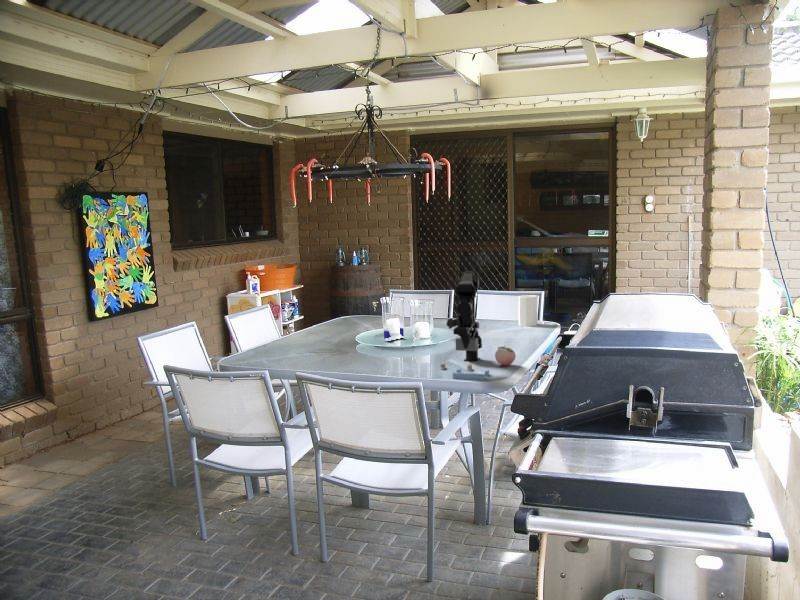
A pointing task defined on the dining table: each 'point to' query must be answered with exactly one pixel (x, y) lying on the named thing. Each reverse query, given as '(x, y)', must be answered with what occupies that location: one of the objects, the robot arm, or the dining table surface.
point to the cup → (527, 310)
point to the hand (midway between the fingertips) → (467, 347)
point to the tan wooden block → (467, 366)
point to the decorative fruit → (505, 356)
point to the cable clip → (387, 335)
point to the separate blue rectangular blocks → (469, 375)
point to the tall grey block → (471, 346)
